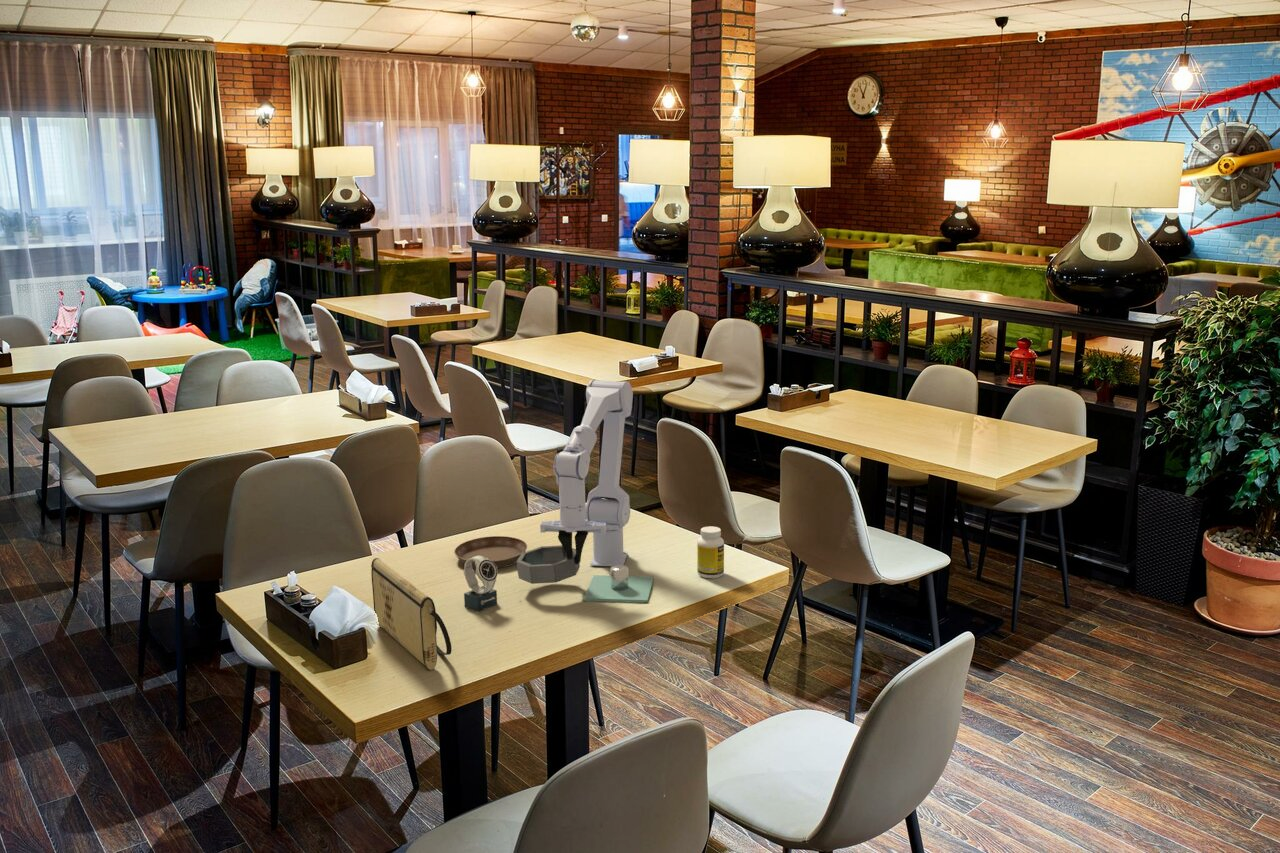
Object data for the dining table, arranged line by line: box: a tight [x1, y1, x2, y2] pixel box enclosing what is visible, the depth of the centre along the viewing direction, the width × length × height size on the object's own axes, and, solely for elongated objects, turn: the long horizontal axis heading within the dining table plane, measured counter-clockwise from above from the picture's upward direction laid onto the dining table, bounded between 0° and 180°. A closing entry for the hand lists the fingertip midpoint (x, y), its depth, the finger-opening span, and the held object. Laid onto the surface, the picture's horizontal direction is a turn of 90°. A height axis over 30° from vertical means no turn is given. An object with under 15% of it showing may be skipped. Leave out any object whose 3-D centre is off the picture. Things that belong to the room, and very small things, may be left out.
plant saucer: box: [453, 535, 528, 569], centre depth 260 cm, size 18×18×3 cm
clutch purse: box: [370, 557, 453, 671], centre depth 211 cm, size 30×7×15 cm, turn 34°
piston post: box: [609, 565, 629, 591], centre depth 238 cm, size 4×4×4 cm
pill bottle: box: [696, 525, 725, 579], centre depth 246 cm, size 6×6×11 cm
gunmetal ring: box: [516, 544, 581, 585], centre depth 238 cm, size 13×13×4 cm
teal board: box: [583, 574, 655, 603], centre depth 239 cm, size 14×14×1 cm
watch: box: [463, 556, 499, 612], centre depth 230 cm, size 6×8×11 cm
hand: (574, 562), depth 238 cm, fingers closed on gunmetal ring
